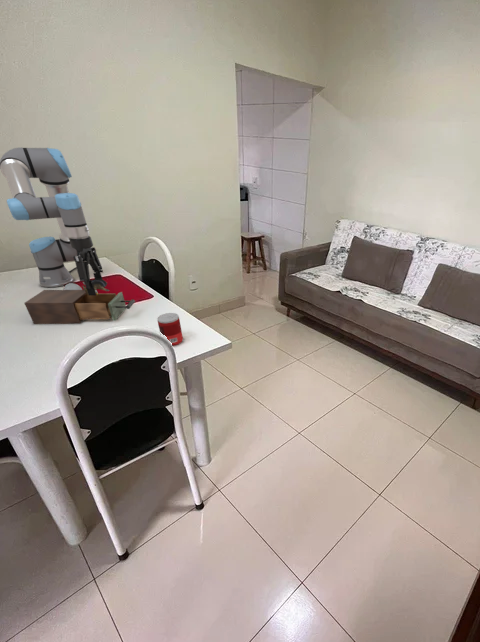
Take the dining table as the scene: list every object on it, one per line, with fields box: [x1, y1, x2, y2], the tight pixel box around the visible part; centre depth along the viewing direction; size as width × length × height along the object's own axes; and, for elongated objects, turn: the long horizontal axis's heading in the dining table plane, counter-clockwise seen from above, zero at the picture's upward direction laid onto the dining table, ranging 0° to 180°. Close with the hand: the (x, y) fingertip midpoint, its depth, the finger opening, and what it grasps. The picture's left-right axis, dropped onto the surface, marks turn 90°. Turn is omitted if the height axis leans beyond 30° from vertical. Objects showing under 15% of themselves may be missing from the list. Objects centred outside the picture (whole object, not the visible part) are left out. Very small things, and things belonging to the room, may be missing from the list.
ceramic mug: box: [62, 282, 83, 290], centre depth 158 cm, size 11×8×8 cm
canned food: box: [156, 312, 184, 347], centre depth 127 cm, size 8×8×11 cm
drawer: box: [74, 291, 136, 322], centre depth 144 cm, size 24×13×8 cm, turn 95°
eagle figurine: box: [82, 278, 110, 295], centre depth 140 cm, size 8×7×9 cm
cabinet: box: [24, 289, 86, 325], centre depth 143 cm, size 19×14×10 cm
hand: (97, 291), depth 140 cm, fingers closed on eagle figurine, 8 cm apart
